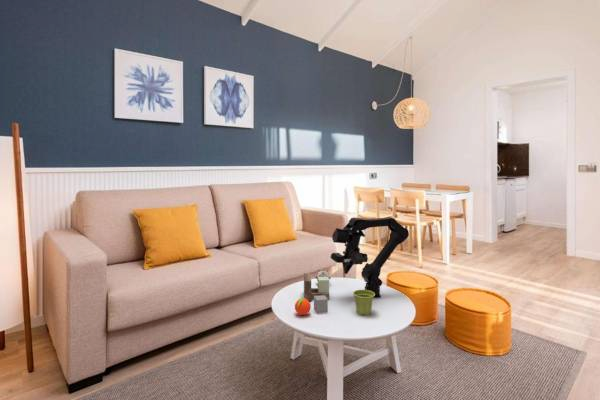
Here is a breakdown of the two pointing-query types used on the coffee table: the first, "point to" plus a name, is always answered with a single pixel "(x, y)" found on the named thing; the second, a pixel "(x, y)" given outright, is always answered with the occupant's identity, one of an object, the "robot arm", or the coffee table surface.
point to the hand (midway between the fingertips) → (345, 273)
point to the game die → (323, 274)
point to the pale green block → (323, 285)
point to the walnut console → (311, 289)
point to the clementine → (302, 306)
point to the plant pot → (363, 301)
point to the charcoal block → (320, 304)
